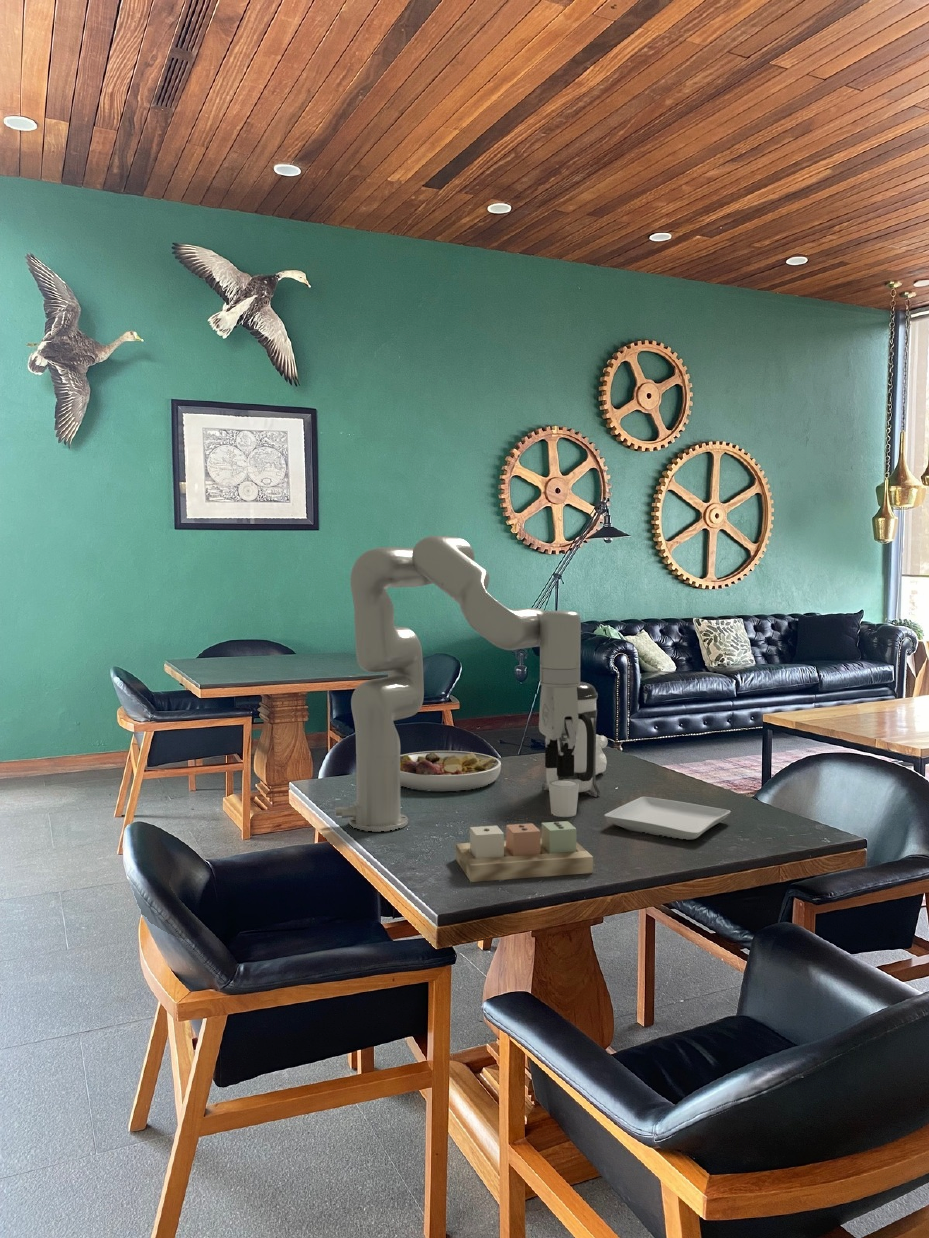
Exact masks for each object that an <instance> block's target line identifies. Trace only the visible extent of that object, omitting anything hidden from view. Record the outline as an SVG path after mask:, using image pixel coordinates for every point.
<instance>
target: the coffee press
mask: <svg viewBox="0 0 929 1238" xmlns="http://www.w3.org/2000/svg"><path fill="white" fill-rule="evenodd" d="M576 687H577V699H578V736H577V737H576V743H575V748H574V749H575V755H574V776H568V777H558V776H557V768H546V767H545V769H546V770H545V773H546V774H545V776H546V777H545V781H544V783H542V786H541V789H542V790H543V791H547V790H549V782H551V781H555V780H570V781H575V782H577V783H579V790H578V793H583V792H586V793H587V792H588V793H590V795H591V796H592V797H594V798H596V797H597V798H598V796H600V795H601V792H600V790H599V789H598V786H597V783H596V776H597V775H596V735H597V717H598V708H597V699H598V697H599V696H598V695H599V694H598V692H597V691H596V688H595V687H594V685H592V684H590V683H587V682H584V681H580V686H576ZM561 738H567V736H562V737H561ZM564 743H567V742H562V745H563V746H564ZM545 785H546V786H548V787H547V788H546V787H545ZM593 788H594V790H595V792H596V793H597V795H596V793H595V792H594V791H593V790H592V789H593Z"/></svg>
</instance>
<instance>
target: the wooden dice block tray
mask: <svg viewBox="0 0 929 1238" xmlns="http://www.w3.org/2000/svg"><path fill="white" fill-rule="evenodd" d="M455 861H456V862H457V863H458V865H459V866H460V868H461V870H462V871H463V872H464V874H465V875H466V877H467V879H469V881H470V883H475V882H485V881H486V882H489V881H500V880H503V881H504V880H516V879H517V880H518V879H526V878H527V879H528V878H529V879H530V878H541V877H542V878H543V877H554V876H556V877H557V876H568V875H580V874H581V875H582V874H583V875H584V874H593V873H594V856H593V855H592V854H591V853H590V852H588V850H587V849H585V848H584V847H583V846H582V845H581V844H580V843H578V842H577V841H576V852H564V853H550V854H548V853H547V852H546V851H545V850H544V849H543V848H542V847H541V841H540V854H536V855H521V856H511V855H510V853H509V852H508V851H507V850H506V839H504V857H492V858H478V859H474V857H473V856H472V854H471V853H470V842H461V843H455Z"/></svg>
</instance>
